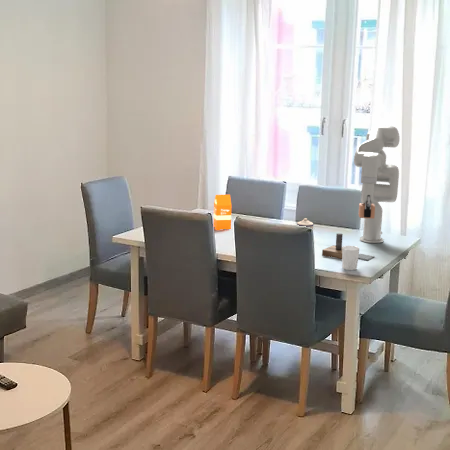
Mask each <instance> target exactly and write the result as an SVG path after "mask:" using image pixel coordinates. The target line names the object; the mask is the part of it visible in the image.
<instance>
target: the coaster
mask: <svg viewBox="0 0 450 450" xmlns="http://www.w3.org/2000/svg"><path fill="white" fill-rule="evenodd" d="M374 258H375V256H374V255H370V254H365V253H359V256H358V260H362V261H370V260H372V259H374Z"/></svg>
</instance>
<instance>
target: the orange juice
mask: <svg viewBox="0 0 450 450" xmlns="http://www.w3.org/2000/svg"><path fill="white" fill-rule="evenodd" d="M214 227H215V228H214ZM213 228H214V229H215V231H221V230H220V229H231V230H232V199H231V194H215V197H214V202H213Z"/></svg>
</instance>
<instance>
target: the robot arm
mask: <svg viewBox="0 0 450 450" xmlns="http://www.w3.org/2000/svg"><path fill="white" fill-rule="evenodd" d="M365 136H366V141H364V142H362V143H361V144H359V145H358V146H357V148H356V149H355V153H354V155H353V157H354V158H353V163H354V165H355V166H356V167H357V168H361V172H360V174H361V176H360V183H361V185H362V186H361V196H360V203H363V204H364V203H365V209H364V217H368V218H363V228H362V229H363V232H362V236H361V237H359V241H361V242H363V243H367V244H380V243H383V242H384V238H383V237H382V235H383V232H382V221H383V208H382V207H383V206H381V204H380V202H381V203H394V202H395V203H396V201H397V198H398V191H399V189H398V188H399V179H400V178H399V177H400V170H399V167H398V166H397V165H395V164H387V163H386V161H387V154H386V152H385V151H384V148H397V147H398V146H399V145H400V140H401V139H400V133H399V131H398V128H397V127H396V126H392V125H391V126H389V125H375V126H373V127H371V129H370V130H369V131H368V132H367V133H366V135H365ZM385 183H388V184H385ZM366 202H367V203H366ZM371 204H374V205H375V216H374V218H370V217H371Z"/></svg>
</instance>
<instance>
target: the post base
mask: <svg viewBox="0 0 450 450" xmlns="http://www.w3.org/2000/svg"><path fill="white" fill-rule="evenodd" d="M342 247H343V233H336V237H335V244H334V245H331V246H328V247H326V248H323V249H322V252H321V256H322V257H328V258H332V259H333V258H334V259H338V260H342Z"/></svg>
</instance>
